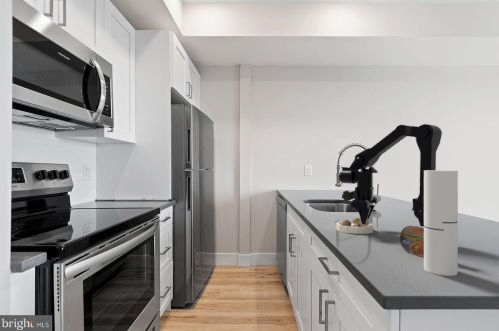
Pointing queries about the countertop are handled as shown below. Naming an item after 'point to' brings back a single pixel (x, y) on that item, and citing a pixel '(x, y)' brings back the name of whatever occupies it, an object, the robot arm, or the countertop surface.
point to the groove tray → (354, 228)
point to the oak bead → (356, 221)
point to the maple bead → (365, 223)
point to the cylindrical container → (441, 222)
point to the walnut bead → (346, 223)
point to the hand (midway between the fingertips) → (364, 223)
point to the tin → (413, 240)
